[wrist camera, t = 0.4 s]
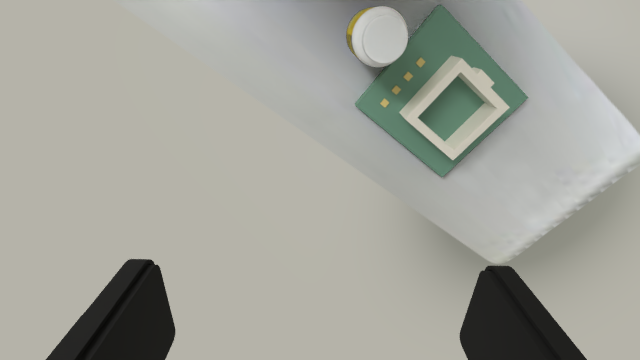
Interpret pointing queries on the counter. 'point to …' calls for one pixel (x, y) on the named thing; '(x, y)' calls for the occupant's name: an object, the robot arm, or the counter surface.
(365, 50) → the supplement bottle
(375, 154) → the counter surface
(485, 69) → the board
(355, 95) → the counter surface
